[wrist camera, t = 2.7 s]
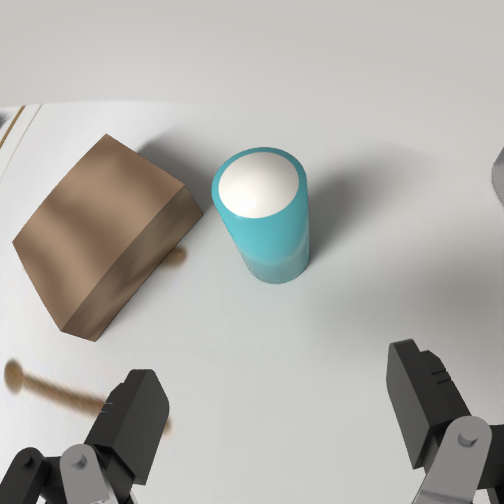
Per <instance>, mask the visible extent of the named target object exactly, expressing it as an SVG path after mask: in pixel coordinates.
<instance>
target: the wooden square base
mask: <svg viewBox="0 0 504 504" xmlns="http://www.w3.org/2000/svg"><path fill="white" fill-rule="evenodd" d="M202 216H203V213H202V212H201V210H200V209H199V207H198V205H197V204H196V202H195V200H194V199H193V197H192V195H191V194H190V192H189V190H188V189H187V187H186V185H185V184H183V183H182V182H180V181H179V180H177V179H176V178H174V177H173V176H171V175H170V174H168V173H167V172H165V171H164V170H162V169H161V168H159V167H157V166H156V165H154V164H153V163H151V162H150V161H148V160H147V159H145V158H144V157H142V156H140V155H139V154H137V153H136V152H134V151H133V150H131V149H130V148H128V147H126V146H125V145H123V144H122V143H120V142H119V141H117V140H116V139H114V138H112V137H111V136H109V135H108V134H105V135H104V136H103V137H102V138H101V139H100V140H99V141H98V142H97V143H96V144H95V145H94V146H93V147H92V148H91V149H90V150H89V151H88V152H87V153H86V154H85V155H84V156H83V157H82V158H81V159H80V160H79V161H78V162H77V164H76V165H75V166H74V167H73V168H72V169H71V170H70V171H69V172H68V173H67V174H66V176H65V177H64V178H63V179H62V180H61V181H60V182H59V183H58V185H57V186H56V187H55V188H54V189H53V190H52V192H51V193H50V194H49V195H48V196H47V198H46V199H45V200H44V201H43V202H42V204H41V205H40V206H39V207H38V209H37V210H36V211H35V212H34V214H33V215H32V216H31V218H30V219H29V220H28V221H27V223H26V224H25V225H24V227H23V228H22V229H21V231H20V232H19V234H18V235H17V236H16V238H15V239H14V240H13V242H12V243H13V245H14V247H15V249H16V252H17V254H18V256H19V258H20V260H21V262H22V264H23V266H24V268H25V270H26V272H27V274H28V276H29V278H30V280H31V282H32V283H33V285H34V287H35V289H36V291H37V293H38V294H39V296H40V298H41V300H42V301H43V303H44V305H45V307H46V308H47V310H48V312H49V313H50V315H51V317H52V318H53V320H54V322H55V323H56V325H57V326H58V328H59V330H60V331H62V332H65V333H68V334H71V335H74V336H77V337H80V338H83V339H87V340H90V341H93V342H95V341H96V340H97V339H98V337H99V336H100V335H101V334H102V332H103V331H104V330H105V329H106V327H107V326H108V325H109V324H110V322H111V321H112V320H113V319H114V317H115V316H116V315H117V314H118V312H119V311H120V310H121V309H122V308H123V306H124V305H125V304H126V303H127V302H128V300H129V299H130V298H131V297H132V295H133V294H134V293H135V292H136V291H137V290H138V288H139V287H140V286H141V285H142V284H143V282H144V281H145V280H146V279H147V278H148V277H149V275H150V274H151V273H152V272H153V271H154V270H155V268H156V267H157V266H158V265H159V264H160V263H161V261H162V260H163V259H164V258H165V257H166V256H167V255H168V253H169V252H170V251H171V250H172V249H173V248H174V247H175V245H176V244H177V243H178V242H179V241H180V240H181V239H182V238H183V237H184V235H185V234H186V233H187V232H188V231H189V230H190V229H191V228H192V227H193V225H194V224H195V223H196V222H197V221H198V220H199V219H200V218H201V217H202Z"/></svg>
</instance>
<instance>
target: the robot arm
mask: <svg viewBox="0 0 504 504" xmlns="http://www.w3.org/2000/svg"><path fill="white" fill-rule="evenodd" d="M492 181H493V185H494V188H495V191H496V193H497V195H498V197H499V199H500V200H501V202H502V203H503V205H504V147H503V149H502V151H501V153H500V154H499V156H498V158H497V159H496V161H495V163H494V165H493V168H492ZM386 382H387V390H388V394H389V397H390V399H391V402H392V405H393V408H394V411H395V414H396V417H397V420H398V423H399V426H400V429H401V432H402V435H403V438H404V441H405V445H406V448H407V451H408V454H409V458H410V461H411V464H412V468H413V469H417V468H420V467H424V470H425V473H426V476H425V478H424V480H423V482H422V484H421V486H420V488H419V490H418V492H417V494H416V496H415V498H414V500H413V502H412V503H411V504H473V503H472V502H473V498H474V495H475V492H476V490H479V489H487V492H488V496H489V499H490V503H491V504H504V424H503V425H488V424H487V423H486V422H485V421H484V420H483V419H481V418H479V417H476V416H472V415H471V413H470V412H469V410H468V408H467V406H466V404H465V402H464V400H463V399H462V397H461V395H460V393H459V391H458V389H457V388H456V386H455V384H454V382H453V381H451V377H450V375H449V374H448V372H446V368H445V367H444V365H443V363H442V362H441V360H440V358H438V357H437V356H436V355H434V354H433V353H432V352H430V351H429V350H427V351H423V352H420V351H419V349H418V347H417V345H416V344H415V342H414V340H413V339H407V340H403V341H398V342H394V343H390V345H389V353H388V365H387V375H386ZM105 403H106V404H105V405H104V406H103V408H102V409H101V413H99V415H98V417H97V419H96V421H95V423H94V425H93V426H92V428H91V430H90V432H89V434H88V436H87V438H86V440H85V442H84V443H83V444H77V445H74V446H71V447H70V448H68V449H67V450H66V451H65V452H64V453H63V454H62V456H59V457H44V456H43V455H42V454H41V453H40V451H39V450H38V449H36V448H33V447H28V448H25V449H23V450H21V451H20V452H18V453H17V455H16V456H15V457H14V459H13V461H12V463H11V465H10V467H9V469H8V471H7V472H6V474H5V476H4V478H3V480H2V482H1V484H0V504H36V502H37V500H38V498H39V495H40V496H41V497H43V498H44V499H45V500H46V502H45V504H138V502H137V500H136V498H135V496H134V494H133V492H132V491H131V488H132V485H133V484H139V485H145V484H146V481H147V478H148V475H149V472H150V469H151V466H152V463H153V460H154V457H155V454H156V451H157V448H158V445H159V442H160V439H161V436H162V433H163V430H164V427H165V424H166V421H167V418H168V415H169V401H168V398H167V396H166V394H165V392H164V390H163V388H162V386H161V384H160V382H159V380H158V378H157V376H156V374H155V372H154V371H153V370H151V369H133V370H131V371H130V372H129V374H128V376H127V378H126V380H125V381H124V383H120V384H119V385H118V386H117V387H116V388H115V389H114V390H113V391H112V392H111V393H110V395H109V397H108V398H107V400H106V402H105Z"/></svg>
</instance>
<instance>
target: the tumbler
mask: <svg viewBox="0 0 504 504" xmlns="http://www.w3.org/2000/svg"><path fill="white" fill-rule="evenodd" d="M211 192H212V199H213V202H214V204H215V206H216V208H217V210H218V212H219V214H220V216H221V218H222V220H223V222H224V224H225V225H226V227H227V229H228V231H229V233H230V235H231V237H232V239H233V241H234V243H235V244H236V246H237V248H238V250H239V252H240V254H241V256H242V258H243V260H244V262H245V263H246V265H247V267H248V269H249V271H250V272H251V273H252V274H253V275H254V276H255V277H256V278H257V279H259V280H261V281H263V282H266V283H270V284H282V283H286V282H289V281H291V280H293V279H295V278H296V277H298V276H299V275H300V274H301V273H302V272H303V271H304V269H305V268H306V266H307V264H308V261H309V256H310V242H309V215H308V193H307V178H306V174H305V171H304V169H303V167H302V165H301V164H300V162H299V161H298V160H297V159H296V158H295V157H293V156H292V155H291V154H289V153H287V152H285V151H283V150H279V149H276V148H269V147H259V148H252V149H248V150H245V151H242V152H240V153H238V154H236V155H234V156H232V157H231V158H230V159H228V160H227V161H226V162H225V163H224V164H223V165H222V166H221V167H220V168H219V170H218V171H217V173H216V175H215V177H214V179H213V183H212V190H211Z"/></svg>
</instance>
